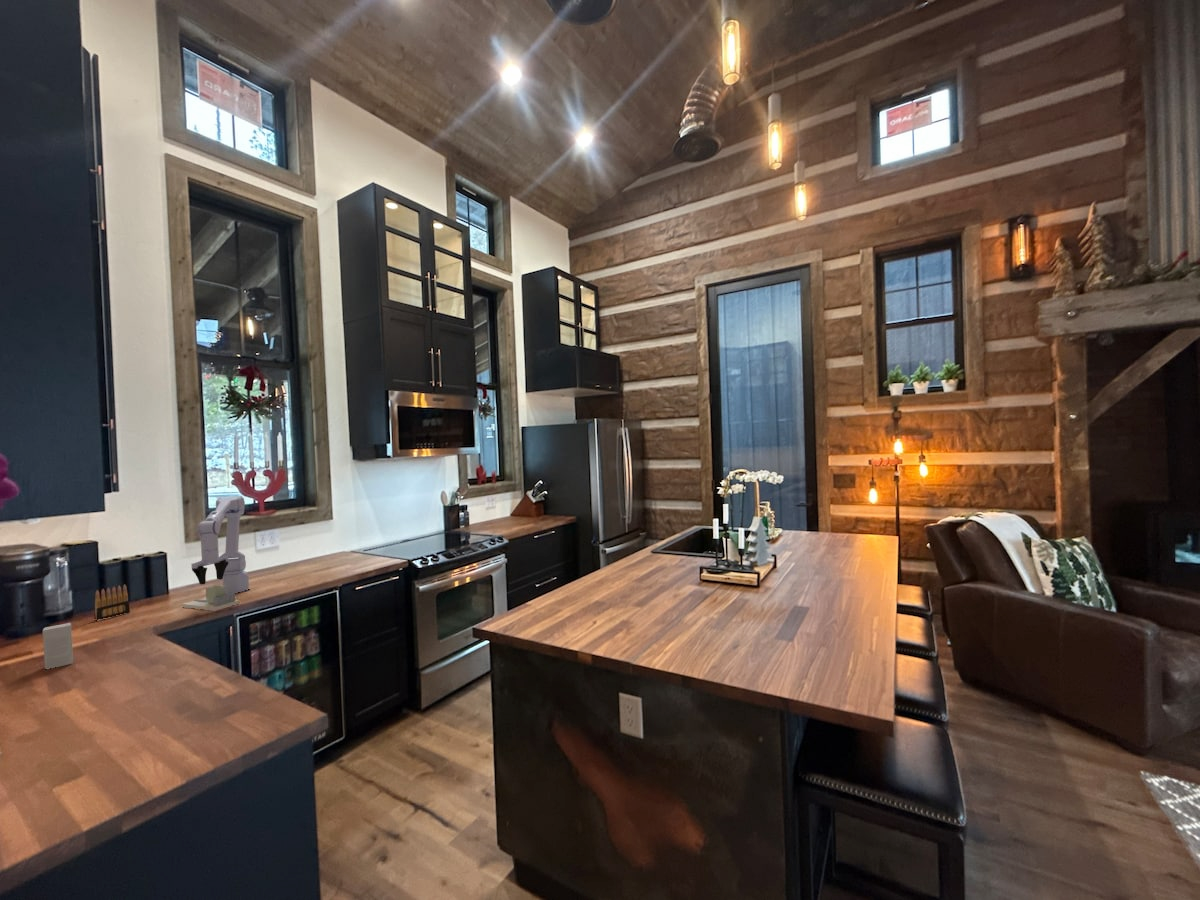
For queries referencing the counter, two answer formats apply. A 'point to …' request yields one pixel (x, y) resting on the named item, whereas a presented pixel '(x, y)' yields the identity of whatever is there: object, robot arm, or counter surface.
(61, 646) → the skincare box
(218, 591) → the keeper
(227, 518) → the robot arm
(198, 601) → the track board
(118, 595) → the ammunition clip
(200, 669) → the counter surface
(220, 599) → the end stop
